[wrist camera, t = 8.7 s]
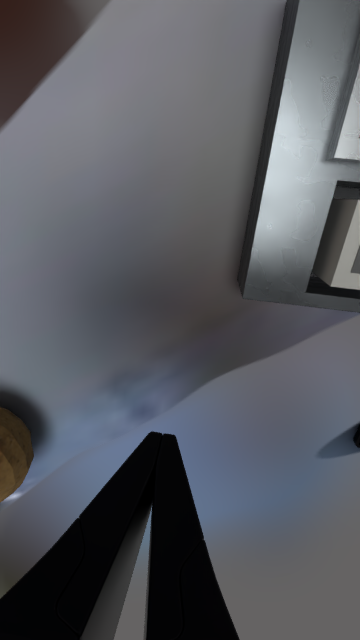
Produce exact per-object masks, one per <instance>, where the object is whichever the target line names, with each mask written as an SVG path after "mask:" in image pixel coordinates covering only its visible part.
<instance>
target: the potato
mask: <svg viewBox="0 0 360 640" xmlns="http://www.w3.org/2000/svg"><path fill="white" fill-rule="evenodd" d="M33 457H34V454H33V448H32V443H31V432H30V431H29V429H28V428H27V427H26V425H25V424H24V423H23V421H22V420H21V419H20V418H18V417H17V416H16V415H14V414H13V413H12V412H10V411H9V410H8V409H4V408H1V407H0V502H2V501H3V500H4V499H6V498H7V497H8V496H10V495H11V494H12V493H13V492H14V491H15V490H16V489H17V488H18V487H19V486H20V485H21V484H22V483H23V481H24V479H25V477H26V475H27V473H28V470H29V468H30V465H31V462H32V460H33Z"/></svg>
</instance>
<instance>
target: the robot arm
mask: <svg viewBox="0 0 360 640" xmlns="http://www.w3.org/2000/svg"><path fill="white" fill-rule="evenodd" d="M353 441H354V443H355V445H356V446H357V447H359V448H360V425H359V427H358V430H357V433H356V435H355V437H354V440H353ZM151 507H152V515H151V531H150V547H149V561H148V578H147V593H146V609H145V626H144V640H239V637H238V635H237V632H236V629H235V627H234V624H233V622H232V619H231V617H230V614H229V612H228V609H227V607H226V604H225V601H224V599H223V596H222V593H221V591H220V588H219V585H218V582H217V580H216V577H215V573H214V570H213V567H212V564H211V560H210V557H209V553H208V550H207V547H206V543H205V541H204V536H203V532H202V529H201V525H200V522H199V518H198V515H197V511H196V507H195V504H194V500H193V496H192V493H191V489H190V486H189V482H188V478H187V475H186V471H185V468H184V464H183V460H182V457H181V453H180V450H179V446H178V442H177V439H176V436H175V435H171V434H163V435H162V433H158V432H150V433H149V434H148V435H147V436H146V437H145V438H144V440H143V441H142V442H141V443H140V445H139V446H138V447H137V448H136V449H135V450H134V452H133V453H132V454H131V455H130V456H129V457H128V459H127V460H126V461H125V462H124V463H123V464H122V466H121V467H120V468H119V469H118V470H117V472H116V473H115V474H114V475H113V476H112V478H111V479H110V480H109V481H108V482H107V483H106V485H105V486H104V487H103V488H102V489H101V491H100V492H99V493H98V494H97V495H96V497H95V498H94V499H93V500H92V501H91V502H90V504H89V505H88V506H87V507H86V508H85V510H84V511H83V512H82V513H81V514H80V516H79V518H77V519H76V520H75V521H74V522H73V524H72V525H71V526H70V527H69V528H68V530H67V531H66V532H65V533H64V534H63V535H62V536H61V537H60V539H59V540H58V541H57V542H56V543H55V544H54V545H53V546H52V548H51V549H50V550H49V551H48V552H47V553H46V554H45V555H44V556H43V557H42V558H41V559H40V560H39V561H38V562H37V563H36V564H35V565H34V566H33V567H32V568H31V569H30V570H29V571H28V572H27V573H26V574H25V575H24V576H23V577H22V578H21V579H20V580H19V581H18V582H17V583H16V584H15V585H14V586H13V587H12V588H11V589H10V590H9V591H8V592H7V593H6V594H5V595H4V596H3V597H2V598H1V599H0V640H113V639H114V636H115V632H116V629H117V625H118V622H119V618H120V615H121V611H122V608H123V605H124V601H125V598H126V594H127V591H128V587H129V584H130V580H131V577H132V574H133V570H134V566H135V563H136V560H137V556H138V553H139V549H140V546H141V543H142V539H143V536H144V532H145V528H146V525H147V522H148V518H149V514H150V511H151Z"/></svg>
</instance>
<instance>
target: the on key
mask: <svg viewBox="0 0 360 640" xmlns="http://www.w3.org/2000/svg"><path fill="white" fill-rule="evenodd" d="M311 272H312V273H314V274H315V275H316V276H318V277H319V278H320V279H322V280H323V281H324V282H325V283H327V284H328V285H329V286H331V287H340V288H348V289H357V290H360V200H355V199H332V201H331V205H330V208H329V212H328V215H327V219H326V222H325V226H324V229H323V233H322V236H321V240H320V243H319V247H318V250H317V254H316V257H315V261H314V264H313V268H312V271H311Z"/></svg>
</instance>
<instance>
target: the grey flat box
mask: <svg viewBox="0 0 360 640" xmlns="http://www.w3.org/2000/svg"><path fill="white" fill-rule="evenodd" d="M359 136H360V0H287V2H286V8H285V13H284V19H283V24H282V30H281V36H280V41H279V47H278V53H277V58H276V64H275V70H274V75H273V81H272V86H271V92H270V98H269V103H268V109H267V115H266V120H265V126H264V132H263V137H262V143H261V148H260V154H259V160H258V165H257V171H256V177H255V182H254V188H253V194H252V199H251V205H250V210H249V216H248V222H247V227H246V233H245V239H244V244H243V250H242V256H241V261H240V267H239V272H238V278H237V280H238V284H239V287H240V291H241V294H242V298H243V299H250V300H259V301H267V302H275V303H284V304H292V305H300V306H309V307H317V308H325V309H334V310H342V311H350V312H359V313H360V290H357V289H348V288H340V287H331V286H329V285H328V284H327V283H325V282H324V281H323V280H322V279H320V278H316V277H310V275H311V271H312V268H313V264H314V261H315V257H316V254H317V250H318V247H319V243H320V240H321V236H322V233H323V229H324V226H325V222H326V219H327V215H328V212H329V208H330V205H331V201H332V198H333V194H334V190H335V187H336V186H341V187H351V188H360V138H359Z"/></svg>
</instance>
